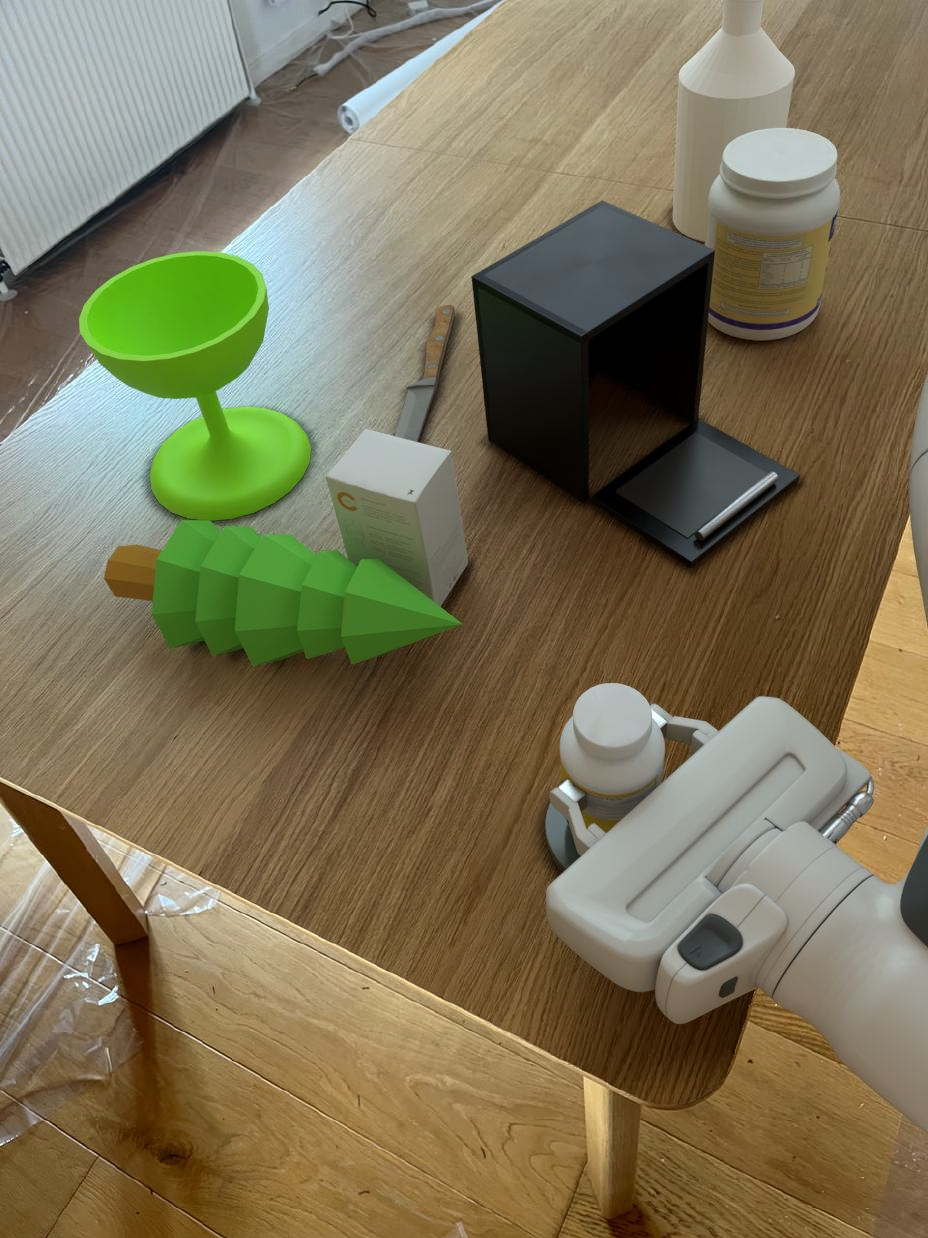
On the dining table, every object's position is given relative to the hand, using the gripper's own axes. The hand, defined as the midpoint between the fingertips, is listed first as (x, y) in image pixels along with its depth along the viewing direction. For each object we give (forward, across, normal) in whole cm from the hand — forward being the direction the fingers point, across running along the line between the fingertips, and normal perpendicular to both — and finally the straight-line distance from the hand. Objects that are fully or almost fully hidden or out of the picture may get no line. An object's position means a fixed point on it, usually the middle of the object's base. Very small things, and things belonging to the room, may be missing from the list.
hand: (601, 752), depth 65 cm
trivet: (-1, 0, +9) cm, 9 cm away
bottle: (+45, -67, +10) cm, 81 cm away
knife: (+45, -21, +9) cm, 51 cm away
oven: (+24, -30, +9) cm, 39 cm away
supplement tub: (+30, -55, +10) cm, 63 cm away
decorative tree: (+29, +6, +9) cm, 31 cm away
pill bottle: (-1, 0, +7) cm, 7 cm away
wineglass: (+52, -2, +9) cm, 53 cm away
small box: (+28, -5, +9) cm, 30 cm away
